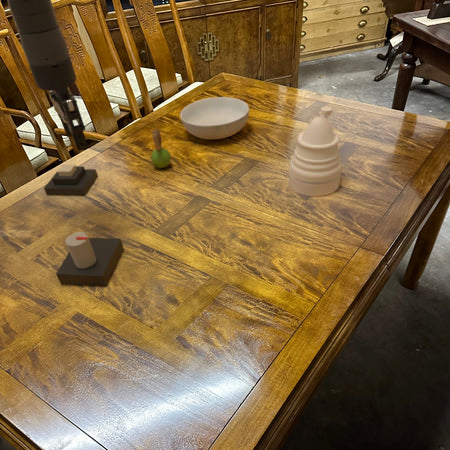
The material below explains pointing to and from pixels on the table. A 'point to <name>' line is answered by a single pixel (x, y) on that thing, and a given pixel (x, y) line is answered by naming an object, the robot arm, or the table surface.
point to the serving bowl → (215, 117)
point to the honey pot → (316, 159)
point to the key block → (72, 183)
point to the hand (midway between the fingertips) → (77, 141)
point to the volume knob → (81, 250)
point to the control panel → (97, 273)
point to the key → (67, 170)
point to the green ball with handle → (159, 152)
